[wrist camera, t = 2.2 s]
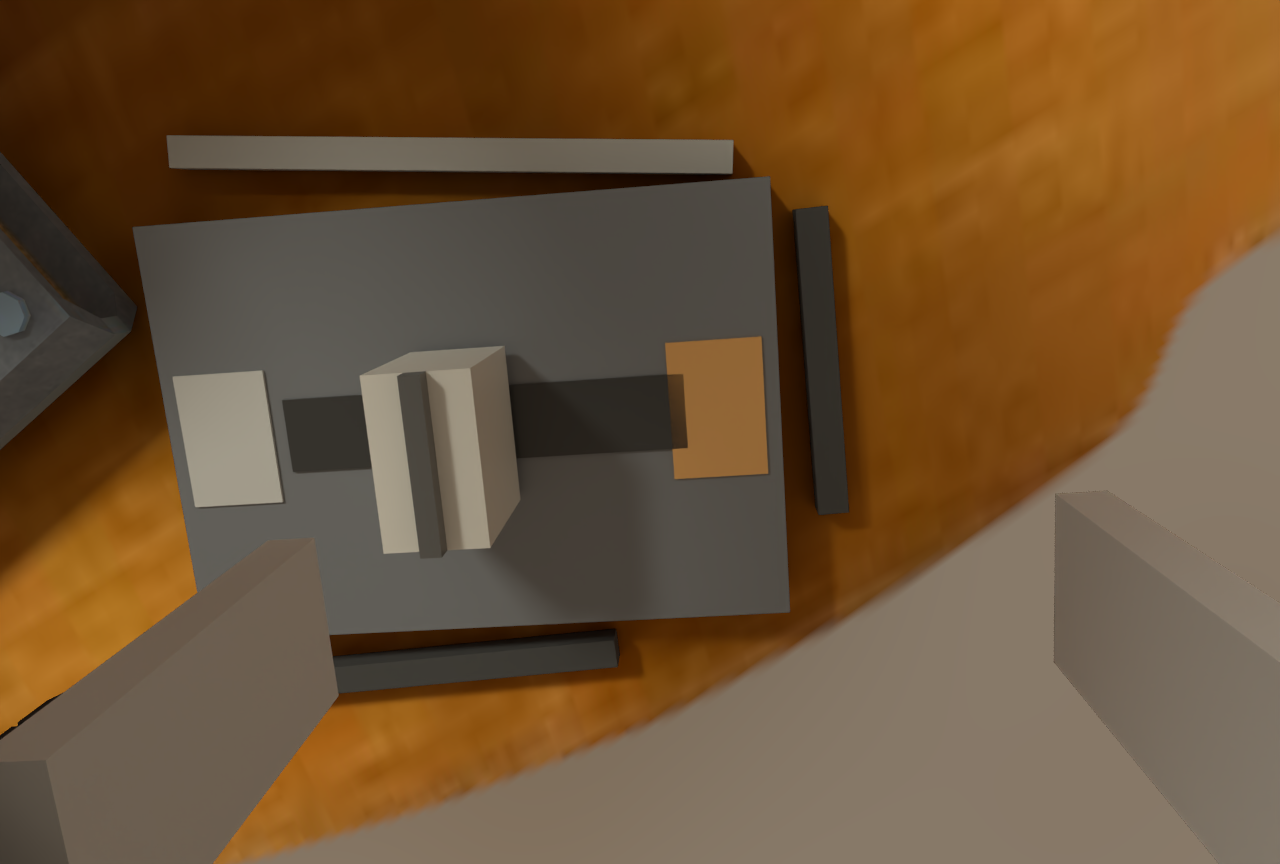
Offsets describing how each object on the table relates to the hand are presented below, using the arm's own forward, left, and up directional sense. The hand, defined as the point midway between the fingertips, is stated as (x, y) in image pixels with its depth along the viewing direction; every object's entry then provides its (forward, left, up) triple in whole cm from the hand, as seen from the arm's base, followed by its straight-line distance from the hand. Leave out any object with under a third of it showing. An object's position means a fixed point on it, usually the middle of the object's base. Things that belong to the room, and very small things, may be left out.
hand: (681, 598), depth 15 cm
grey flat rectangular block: (-7, 0, -18) cm, 19 cm away
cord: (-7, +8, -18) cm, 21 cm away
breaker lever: (-7, 0, -16) cm, 17 cm away
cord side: (+4, +1, -18) cm, 19 cm away
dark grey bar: (-10, -9, -18) cm, 23 cm away
